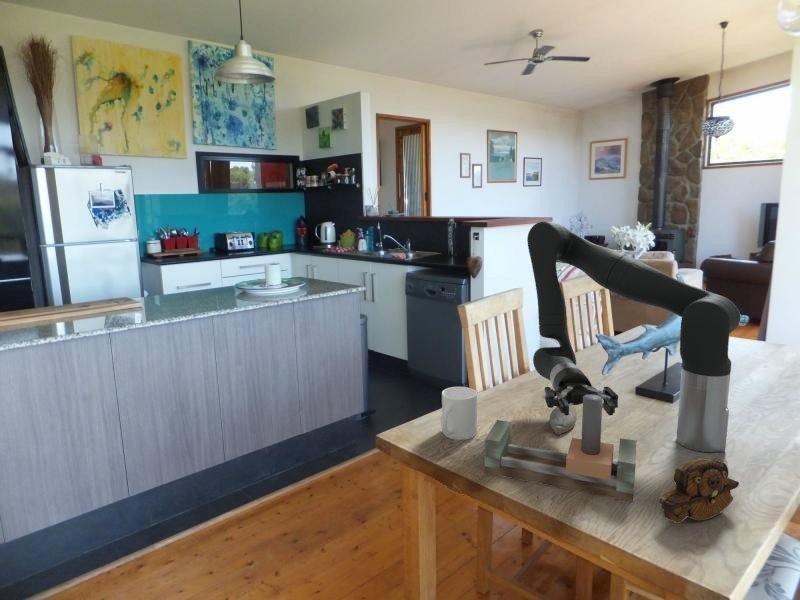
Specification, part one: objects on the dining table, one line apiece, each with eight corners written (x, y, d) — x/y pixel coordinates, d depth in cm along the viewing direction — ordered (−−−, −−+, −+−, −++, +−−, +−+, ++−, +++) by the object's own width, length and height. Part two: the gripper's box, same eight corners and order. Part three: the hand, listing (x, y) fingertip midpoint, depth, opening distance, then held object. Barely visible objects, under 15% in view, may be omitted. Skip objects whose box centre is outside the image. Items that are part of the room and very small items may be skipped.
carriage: (613, 458, 106) (616, 392, 103) (610, 480, 98) (613, 409, 95) (571, 451, 109) (573, 387, 106) (565, 472, 101) (568, 403, 98)
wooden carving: (678, 538, 86) (683, 482, 84) (654, 522, 90) (658, 469, 88) (742, 510, 93) (747, 458, 91) (717, 497, 97) (722, 447, 95)
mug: (458, 450, 118) (457, 407, 116) (427, 441, 123) (426, 399, 121) (483, 431, 127) (483, 390, 125) (453, 423, 132) (453, 384, 130)
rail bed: (634, 475, 105) (636, 440, 104) (633, 501, 96) (635, 464, 95) (497, 451, 117) (497, 419, 115) (484, 472, 108) (484, 439, 106)
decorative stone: (545, 435, 124) (545, 422, 124) (554, 410, 138) (554, 398, 137) (572, 439, 122) (572, 426, 121) (578, 414, 136) (578, 401, 135)
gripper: (538, 367, 120) (553, 393, 104) (602, 366, 119) (627, 393, 103) (537, 398, 121) (552, 428, 105) (601, 398, 120) (625, 428, 104)
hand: (589, 411), depth 104 cm, fingers open, 8 cm apart
